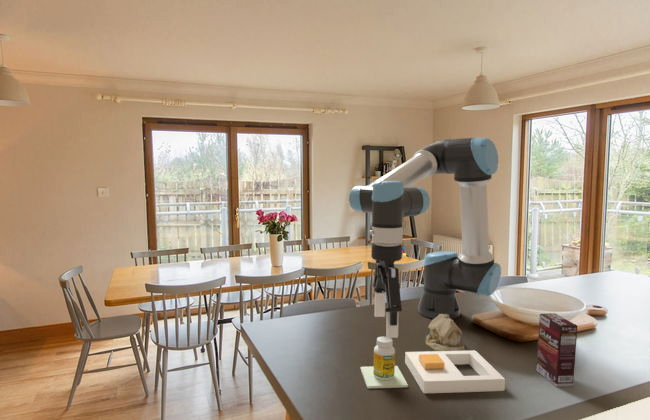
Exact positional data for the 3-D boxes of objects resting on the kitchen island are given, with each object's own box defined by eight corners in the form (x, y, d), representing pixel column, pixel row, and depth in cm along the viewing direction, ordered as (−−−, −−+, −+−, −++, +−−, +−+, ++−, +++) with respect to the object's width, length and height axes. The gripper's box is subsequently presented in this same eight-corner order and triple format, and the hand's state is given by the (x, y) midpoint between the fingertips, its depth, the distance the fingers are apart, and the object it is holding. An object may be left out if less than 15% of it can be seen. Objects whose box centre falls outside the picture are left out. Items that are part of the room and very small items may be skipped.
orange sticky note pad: (418, 370, 108) (418, 354, 107) (436, 370, 108) (437, 354, 108) (424, 380, 103) (425, 363, 102) (443, 379, 103) (444, 362, 103)
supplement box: (535, 370, 109) (538, 313, 108) (552, 370, 110) (556, 312, 108) (555, 387, 101) (560, 325, 99) (574, 387, 101) (578, 324, 100)
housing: (405, 362, 113) (405, 352, 113) (474, 360, 115) (475, 350, 114) (423, 393, 97) (424, 381, 97) (504, 390, 99) (505, 378, 99)
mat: (360, 368, 109) (360, 366, 109) (397, 367, 110) (397, 365, 110) (367, 388, 99) (367, 386, 99) (407, 387, 100) (407, 384, 100)
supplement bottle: (384, 368, 108) (385, 333, 107) (398, 377, 103) (400, 340, 102) (368, 373, 105) (369, 337, 104) (382, 383, 100) (383, 345, 100)
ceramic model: (418, 338, 130) (420, 307, 129) (451, 336, 132) (452, 306, 132) (439, 358, 116) (441, 323, 116) (475, 355, 119) (477, 321, 118)
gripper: (362, 235, 113) (362, 309, 115) (383, 254, 89) (381, 348, 91) (389, 234, 114) (388, 308, 116) (417, 253, 89) (414, 346, 91)
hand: (385, 326), depth 103 cm, fingers open, 13 cm apart
